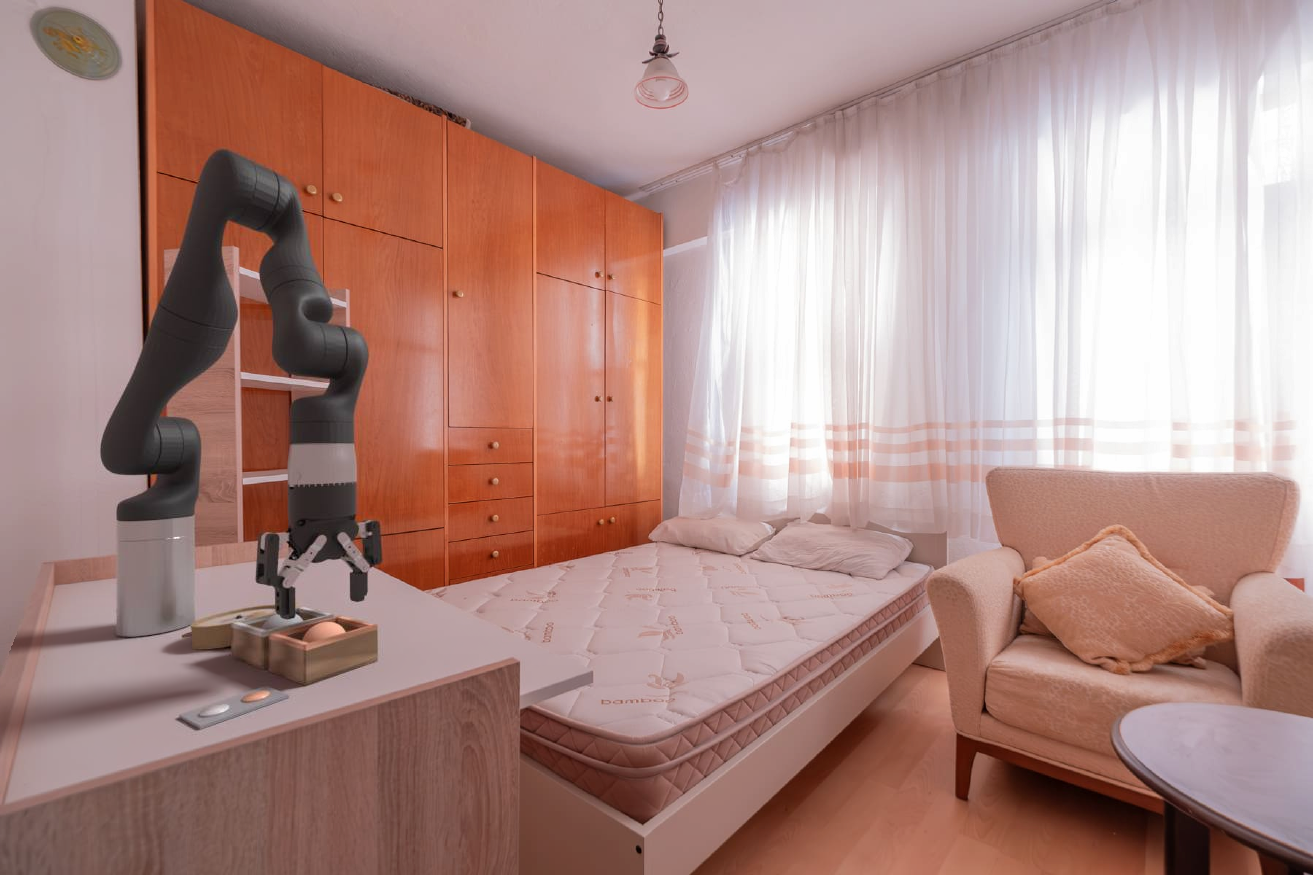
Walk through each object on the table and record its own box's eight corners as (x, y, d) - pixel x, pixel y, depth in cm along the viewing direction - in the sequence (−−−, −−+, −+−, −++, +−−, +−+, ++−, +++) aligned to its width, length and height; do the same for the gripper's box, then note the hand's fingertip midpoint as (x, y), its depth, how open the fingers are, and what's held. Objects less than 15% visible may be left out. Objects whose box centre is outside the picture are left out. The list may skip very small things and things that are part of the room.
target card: (179, 717, 57) (179, 712, 57) (266, 688, 64) (266, 683, 64) (200, 729, 55) (200, 723, 55) (289, 697, 62) (288, 692, 62)
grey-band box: (231, 657, 74) (231, 622, 75) (301, 638, 82) (300, 606, 82) (263, 669, 70) (263, 632, 70) (334, 647, 77) (334, 614, 78)
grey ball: (254, 653, 75) (252, 615, 75) (294, 640, 79) (292, 605, 79) (272, 659, 73) (270, 621, 72) (313, 646, 77) (311, 609, 77)
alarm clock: (233, 607, 89) (321, 590, 88) (238, 638, 89) (327, 622, 88) (166, 630, 78) (266, 611, 77) (172, 665, 78) (272, 647, 77)
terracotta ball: (292, 665, 70) (292, 625, 70) (333, 653, 74) (333, 614, 74) (314, 673, 67) (314, 631, 67) (355, 659, 72) (355, 620, 72)
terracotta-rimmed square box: (268, 671, 69) (268, 633, 69) (339, 649, 77) (339, 615, 77) (306, 685, 65) (306, 645, 65) (377, 660, 72) (377, 624, 72)
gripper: (360, 477, 79) (361, 593, 79) (244, 483, 67) (245, 620, 67) (393, 477, 75) (394, 599, 75) (276, 483, 63) (277, 629, 63)
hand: (324, 609), depth 71 cm, fingers open, 8 cm apart
